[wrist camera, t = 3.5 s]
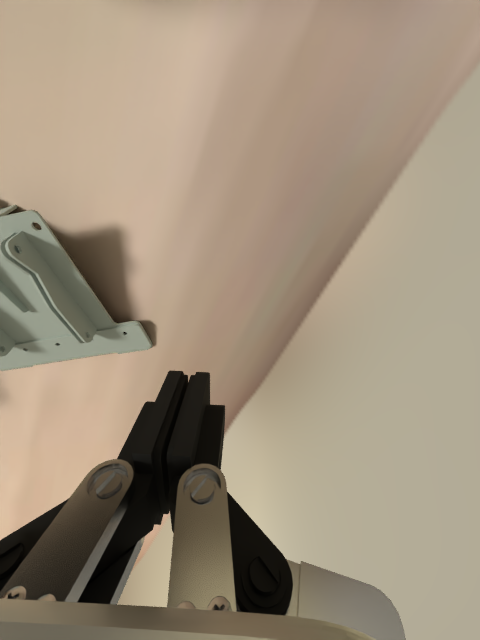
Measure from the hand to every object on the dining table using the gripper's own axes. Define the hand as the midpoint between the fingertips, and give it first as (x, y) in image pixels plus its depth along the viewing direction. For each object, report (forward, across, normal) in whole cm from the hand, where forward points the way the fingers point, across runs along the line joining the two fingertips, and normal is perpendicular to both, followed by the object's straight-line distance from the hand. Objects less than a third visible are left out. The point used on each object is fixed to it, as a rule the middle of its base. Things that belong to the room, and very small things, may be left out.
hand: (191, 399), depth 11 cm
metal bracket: (+12, +14, 0) cm, 18 cm away
